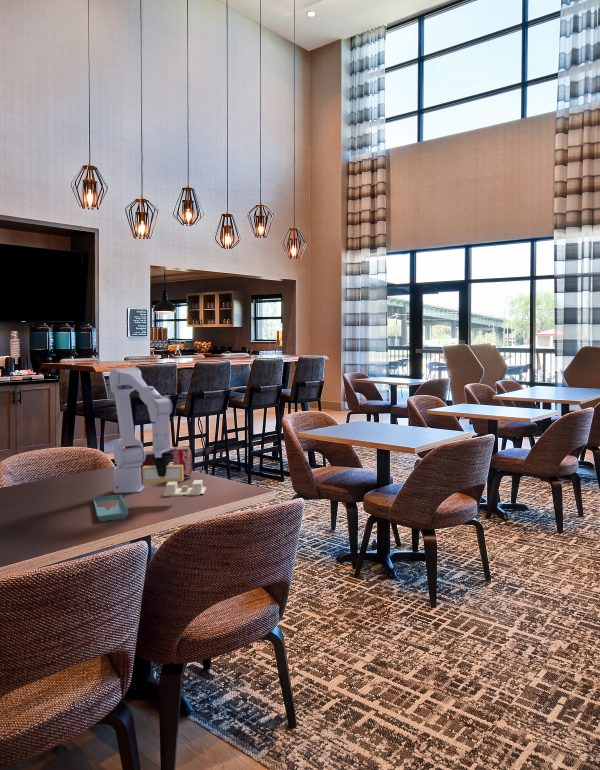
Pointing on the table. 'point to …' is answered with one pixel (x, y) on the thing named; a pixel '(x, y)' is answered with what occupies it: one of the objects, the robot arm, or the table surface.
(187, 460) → the soda can
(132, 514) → the table surface
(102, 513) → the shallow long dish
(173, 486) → the display stand
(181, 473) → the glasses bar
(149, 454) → the mug
